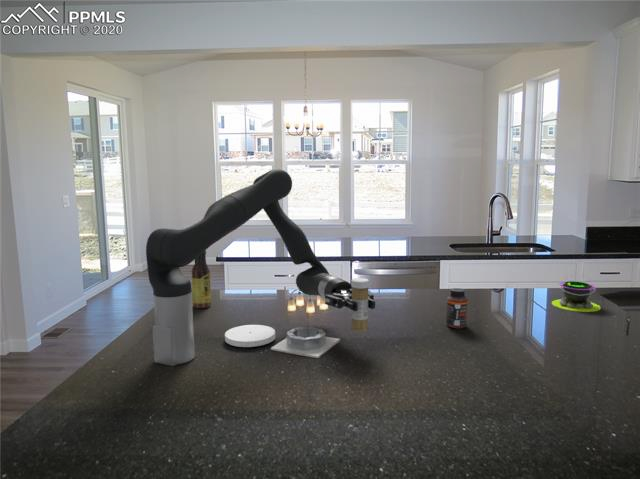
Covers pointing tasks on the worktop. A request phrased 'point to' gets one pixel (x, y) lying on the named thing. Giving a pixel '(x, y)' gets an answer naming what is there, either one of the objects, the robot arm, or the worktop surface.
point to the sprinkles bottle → (360, 304)
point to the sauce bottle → (201, 283)
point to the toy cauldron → (576, 297)
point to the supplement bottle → (456, 309)
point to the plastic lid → (250, 335)
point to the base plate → (313, 353)
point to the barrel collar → (306, 338)
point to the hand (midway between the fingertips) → (365, 306)
